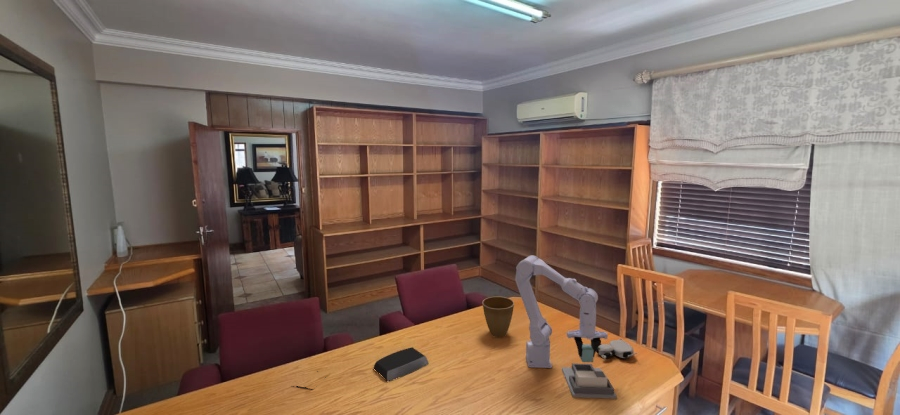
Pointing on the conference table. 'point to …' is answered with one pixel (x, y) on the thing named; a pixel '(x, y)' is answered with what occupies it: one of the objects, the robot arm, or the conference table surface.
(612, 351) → the robot toy
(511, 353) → the conference table surface
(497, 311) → the plant pot
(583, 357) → the teal block
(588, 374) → the beige rectangular block
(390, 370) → the external hard drive
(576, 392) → the jig
